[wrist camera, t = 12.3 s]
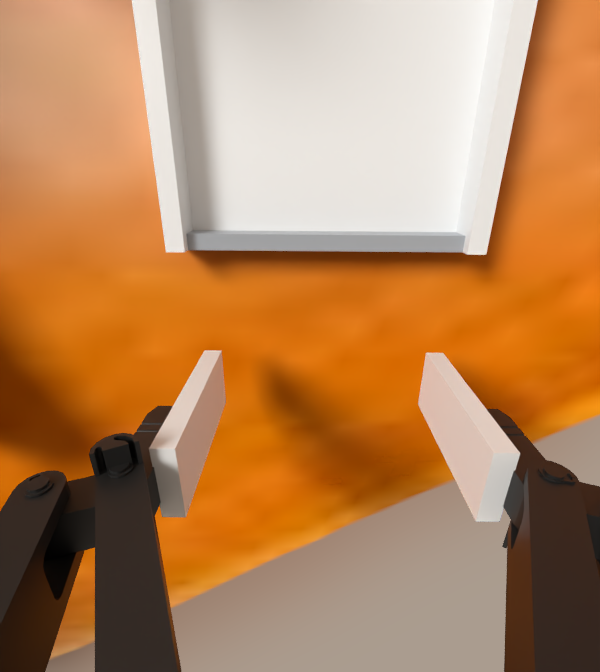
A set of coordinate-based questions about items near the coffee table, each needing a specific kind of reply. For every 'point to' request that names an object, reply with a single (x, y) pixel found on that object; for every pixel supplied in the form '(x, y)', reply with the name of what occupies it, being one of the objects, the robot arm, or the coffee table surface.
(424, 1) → the tray
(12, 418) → the coffee table surface
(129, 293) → the coffee table surface
